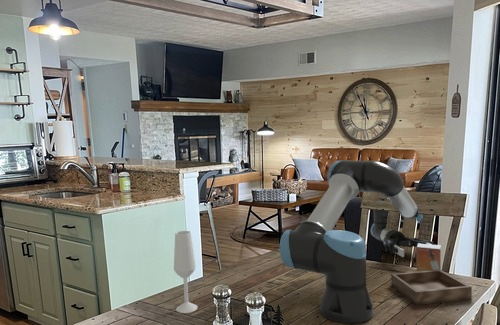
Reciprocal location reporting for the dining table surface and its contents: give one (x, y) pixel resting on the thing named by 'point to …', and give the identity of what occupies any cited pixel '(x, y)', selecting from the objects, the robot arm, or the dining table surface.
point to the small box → (428, 257)
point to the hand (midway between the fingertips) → (420, 252)
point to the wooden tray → (431, 287)
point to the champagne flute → (184, 265)
